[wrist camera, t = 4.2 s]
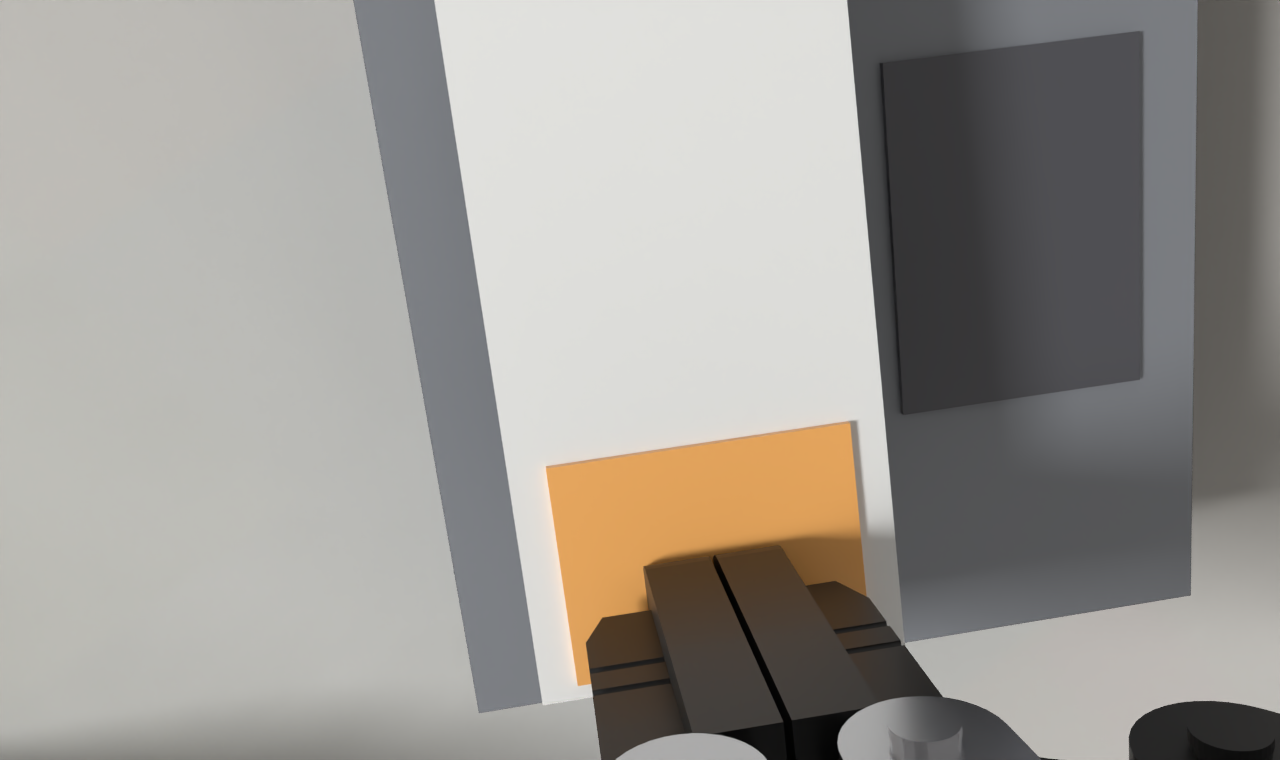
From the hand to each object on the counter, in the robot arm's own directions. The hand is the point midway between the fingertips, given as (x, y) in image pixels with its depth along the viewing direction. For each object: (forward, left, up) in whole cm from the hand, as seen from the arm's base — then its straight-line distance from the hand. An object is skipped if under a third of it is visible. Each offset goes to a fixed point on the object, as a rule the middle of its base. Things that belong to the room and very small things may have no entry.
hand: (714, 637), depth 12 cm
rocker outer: (-3, 0, -1) cm, 4 cm away
